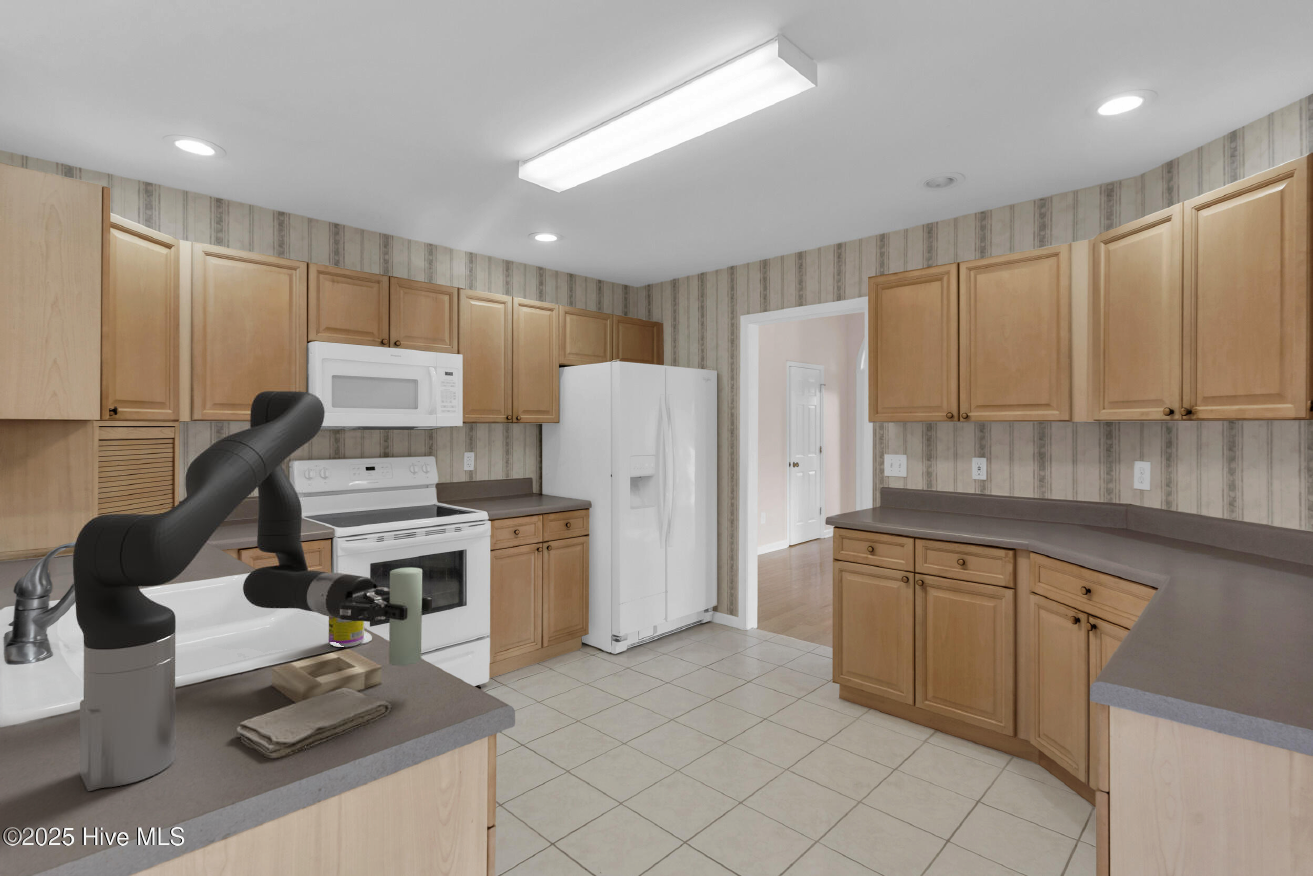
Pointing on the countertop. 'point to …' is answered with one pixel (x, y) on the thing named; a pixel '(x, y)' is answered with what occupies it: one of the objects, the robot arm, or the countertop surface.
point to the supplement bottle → (346, 632)
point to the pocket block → (326, 675)
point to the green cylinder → (409, 630)
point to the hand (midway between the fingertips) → (418, 608)
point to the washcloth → (310, 722)
